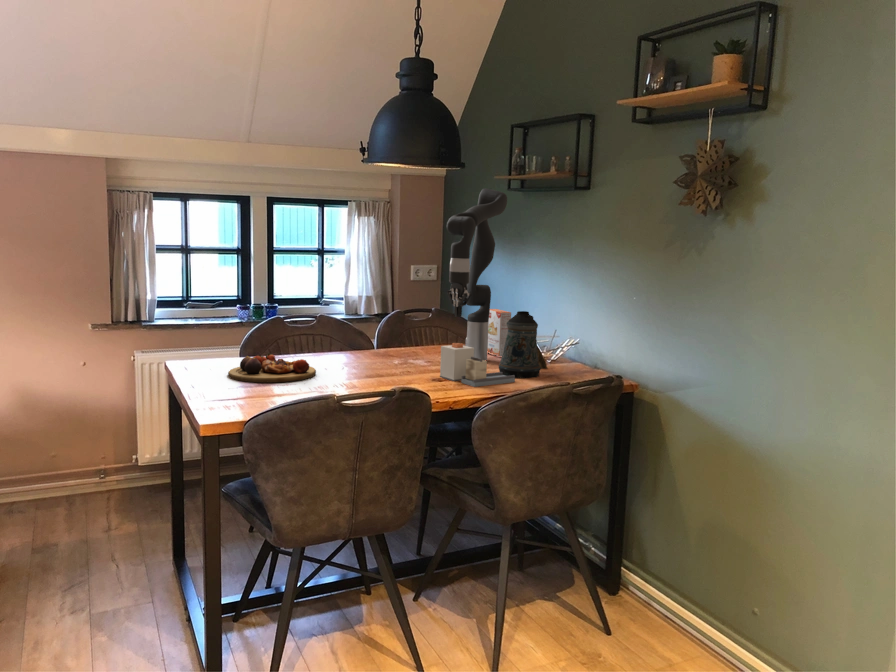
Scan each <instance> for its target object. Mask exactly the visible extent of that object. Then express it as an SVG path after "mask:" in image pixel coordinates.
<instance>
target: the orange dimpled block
mask: <svg viewBox="0 0 896 672" xmlns="http://www.w3.org/2000/svg"><path fill="white" fill-rule="evenodd" d="M451 345H452V347H454V348H463V345H464V343H461V342H452V343H451Z"/></svg>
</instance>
